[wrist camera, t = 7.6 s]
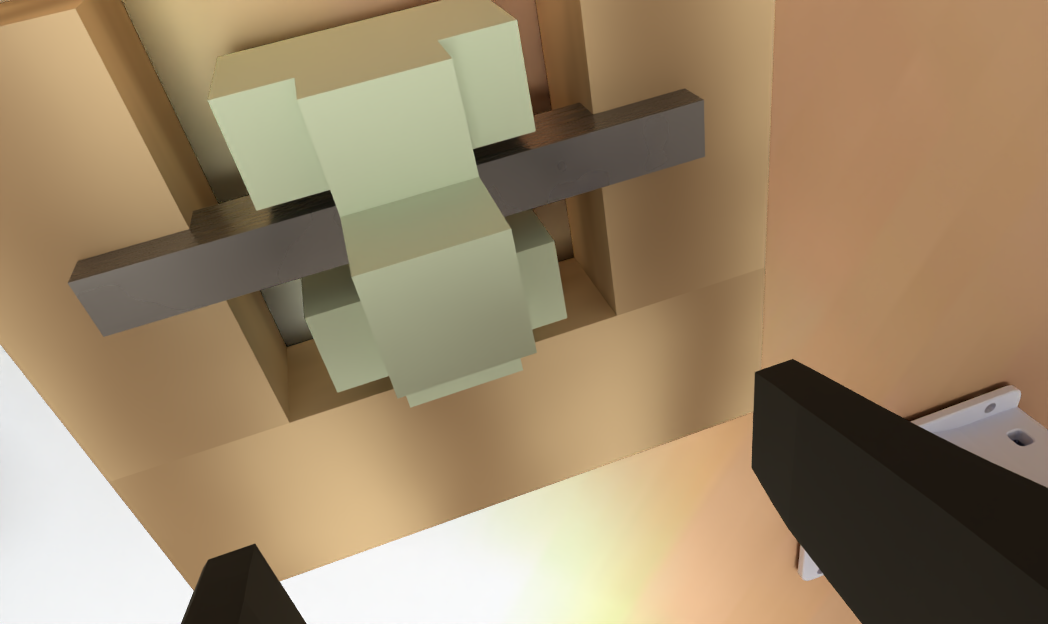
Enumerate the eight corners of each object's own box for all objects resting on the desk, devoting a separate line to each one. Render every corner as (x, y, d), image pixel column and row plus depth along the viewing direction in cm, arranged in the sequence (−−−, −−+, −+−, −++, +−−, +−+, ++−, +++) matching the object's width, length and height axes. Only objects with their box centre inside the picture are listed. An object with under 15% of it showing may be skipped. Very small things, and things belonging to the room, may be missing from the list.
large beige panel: (699, -160, 15) (808, -159, 12) (709, 350, 23) (775, 427, 20) (-121, 30, 13) (-242, 91, 10) (213, 519, 21) (204, 634, 18)
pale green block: (477, -9, 14) (583, 68, 9) (530, 258, 18) (625, 411, 13) (217, 57, 14) (189, 177, 9) (328, 321, 17) (351, 505, 13)
